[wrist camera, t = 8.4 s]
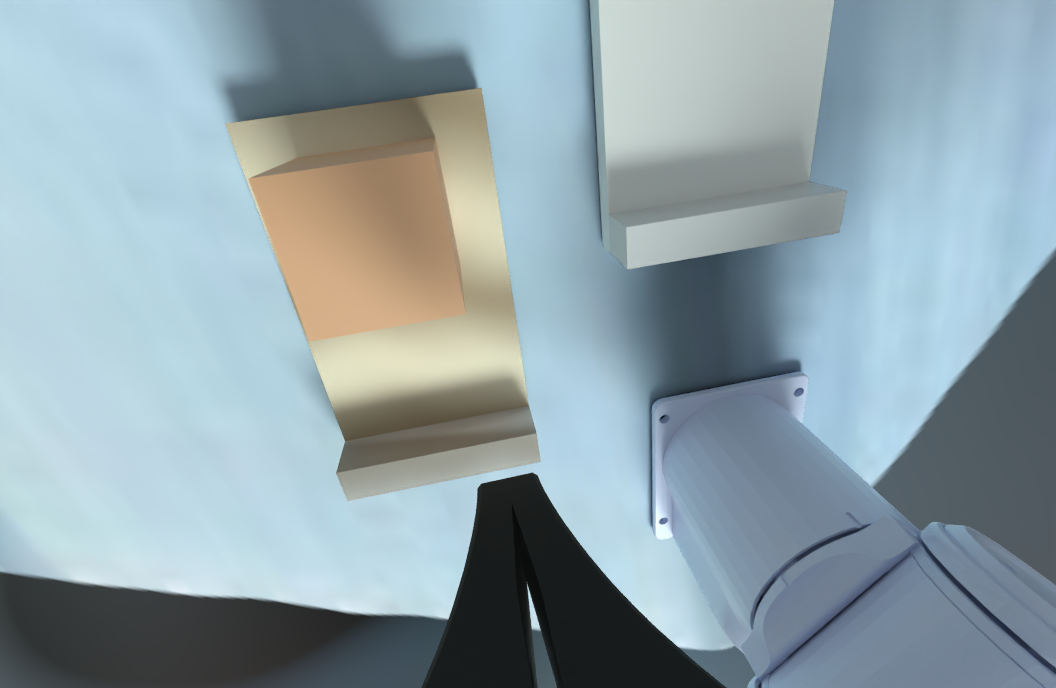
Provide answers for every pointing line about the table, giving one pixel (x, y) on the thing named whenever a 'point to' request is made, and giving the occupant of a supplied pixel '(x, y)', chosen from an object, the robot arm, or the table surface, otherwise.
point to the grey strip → (709, 125)
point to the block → (364, 237)
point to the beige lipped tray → (425, 347)
